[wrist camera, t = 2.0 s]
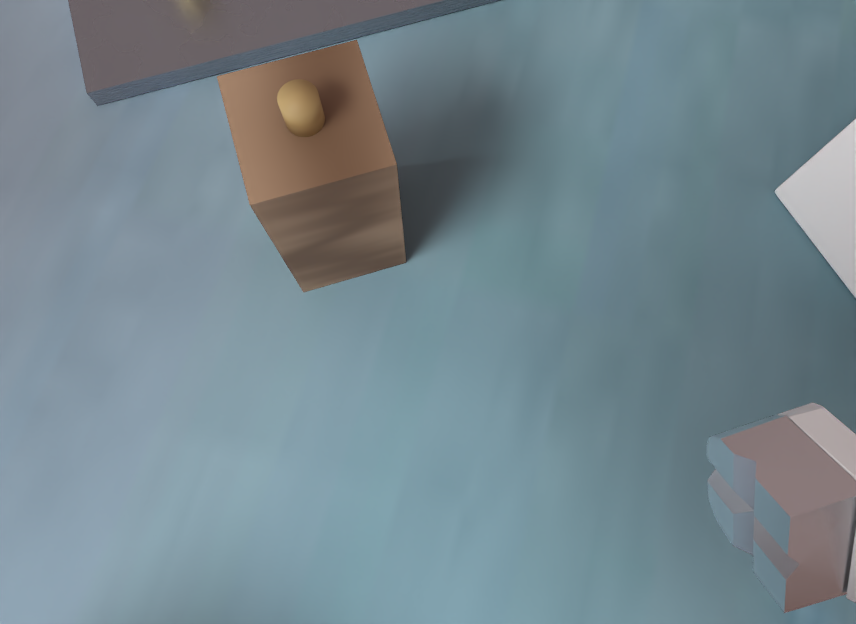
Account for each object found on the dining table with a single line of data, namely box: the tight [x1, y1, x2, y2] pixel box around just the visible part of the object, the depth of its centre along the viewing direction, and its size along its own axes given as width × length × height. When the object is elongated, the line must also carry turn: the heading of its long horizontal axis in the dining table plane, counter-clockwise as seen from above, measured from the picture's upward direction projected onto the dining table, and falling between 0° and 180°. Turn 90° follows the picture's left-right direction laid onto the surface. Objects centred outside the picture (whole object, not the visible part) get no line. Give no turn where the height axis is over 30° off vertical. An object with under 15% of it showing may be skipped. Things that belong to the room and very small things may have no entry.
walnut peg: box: [217, 40, 406, 292], centre depth 25 cm, size 4×4×10 cm
